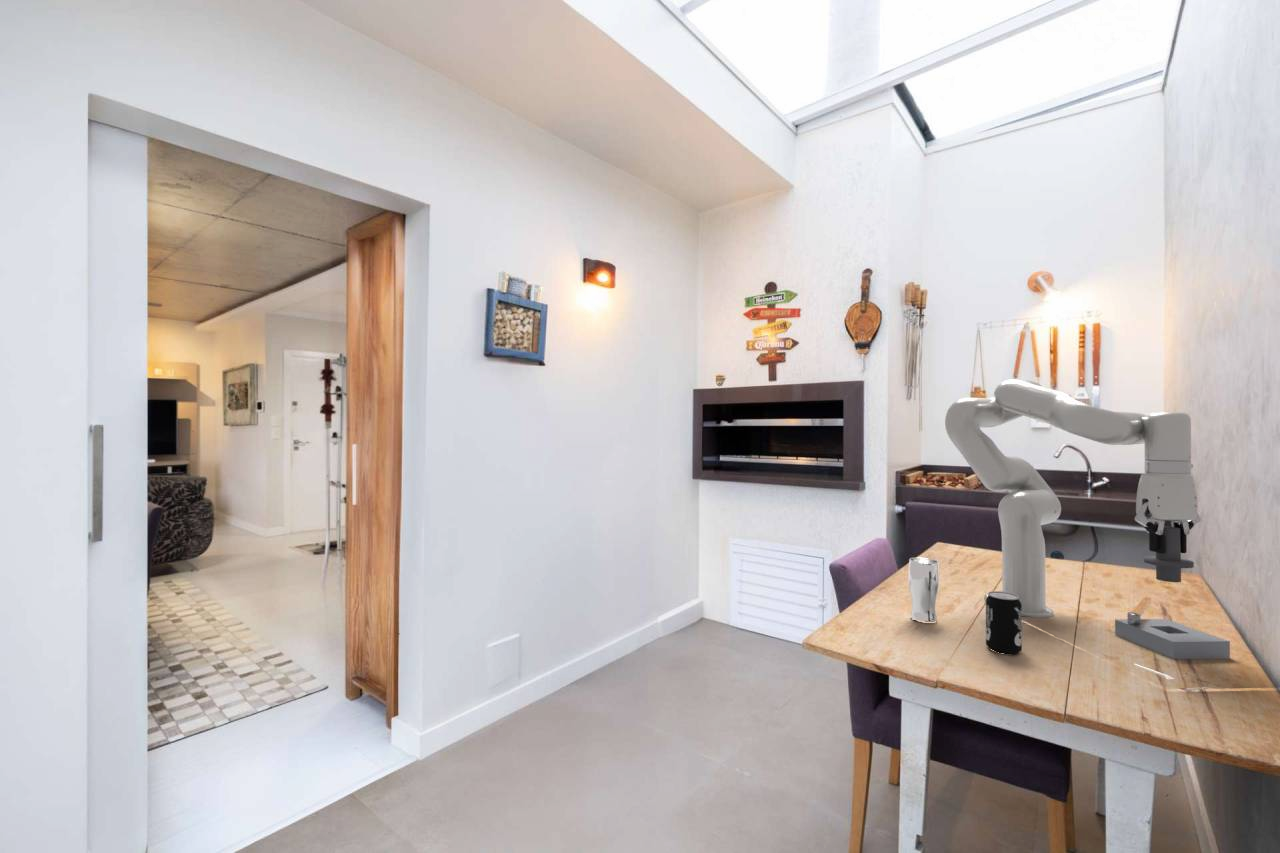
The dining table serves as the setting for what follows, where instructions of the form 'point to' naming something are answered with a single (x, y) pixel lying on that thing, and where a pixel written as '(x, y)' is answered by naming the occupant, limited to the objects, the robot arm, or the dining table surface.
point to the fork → (1169, 678)
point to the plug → (1169, 557)
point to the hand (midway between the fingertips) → (1167, 551)
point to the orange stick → (1138, 611)
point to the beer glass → (923, 588)
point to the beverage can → (1004, 622)
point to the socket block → (1173, 639)
